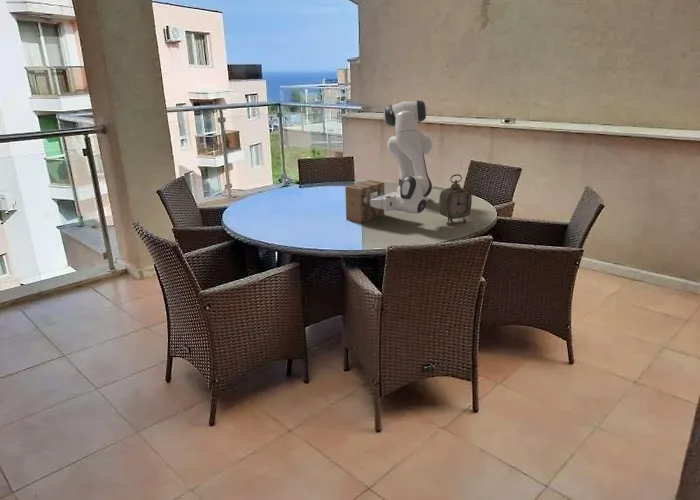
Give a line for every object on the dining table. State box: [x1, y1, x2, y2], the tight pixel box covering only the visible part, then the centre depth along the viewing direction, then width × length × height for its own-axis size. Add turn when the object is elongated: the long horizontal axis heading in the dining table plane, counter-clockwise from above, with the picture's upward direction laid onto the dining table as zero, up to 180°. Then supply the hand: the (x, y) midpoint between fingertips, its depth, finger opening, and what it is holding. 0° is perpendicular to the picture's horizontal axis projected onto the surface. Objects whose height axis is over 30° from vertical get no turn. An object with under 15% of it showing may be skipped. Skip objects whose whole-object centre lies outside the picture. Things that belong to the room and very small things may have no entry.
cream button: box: [369, 191, 378, 203], centre depth 254 cm, size 5×4×5 cm
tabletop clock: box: [438, 174, 473, 226], centre depth 244 cm, size 14×9×25 cm, turn 115°
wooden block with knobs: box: [345, 179, 385, 224], centre depth 257 cm, size 20×12×18 cm, turn 138°
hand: (374, 197), depth 253 cm, fingers closed, pressing on cream button
